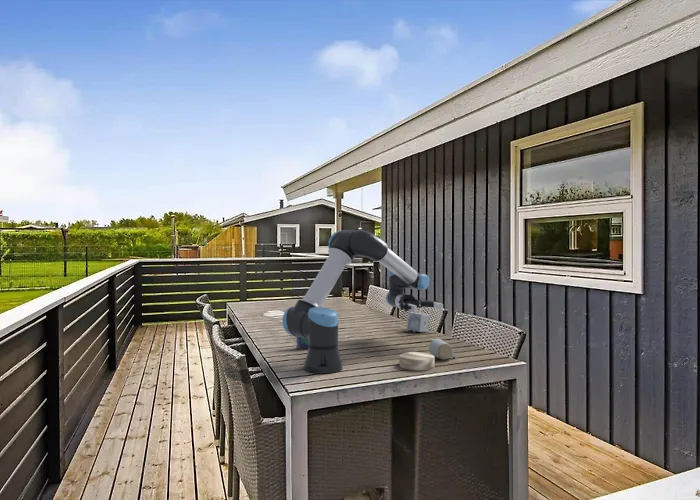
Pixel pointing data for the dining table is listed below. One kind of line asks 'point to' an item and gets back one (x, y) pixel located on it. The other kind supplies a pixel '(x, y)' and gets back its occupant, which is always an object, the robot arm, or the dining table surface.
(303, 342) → the flask
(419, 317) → the incense holder
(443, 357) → the ceramic mug
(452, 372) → the dining table surface
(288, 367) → the dining table surface
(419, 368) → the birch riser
